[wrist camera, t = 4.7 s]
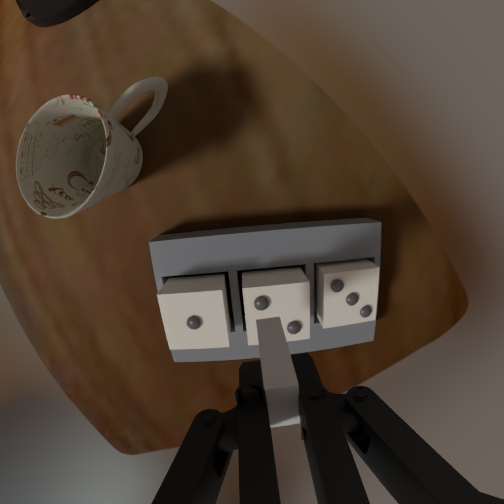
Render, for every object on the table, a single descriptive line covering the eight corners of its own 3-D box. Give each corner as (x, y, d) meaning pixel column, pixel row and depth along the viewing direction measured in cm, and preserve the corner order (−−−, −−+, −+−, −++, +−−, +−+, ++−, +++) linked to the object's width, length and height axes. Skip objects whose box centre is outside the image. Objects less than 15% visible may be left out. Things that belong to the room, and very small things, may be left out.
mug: (66, 166, 24) (1, 167, 14) (148, 70, 22) (107, 25, 12) (116, 221, 25) (59, 244, 16) (206, 122, 24) (186, 90, 14)
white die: (241, 272, 25) (242, 289, 21) (299, 266, 25) (310, 282, 21) (247, 323, 26) (248, 346, 22) (300, 317, 26) (310, 340, 22)
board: (158, 235, 26) (148, 242, 23) (367, 217, 26) (381, 222, 23) (179, 346, 29) (174, 362, 26) (362, 326, 29) (373, 340, 26)
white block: (168, 278, 25) (156, 295, 21) (224, 273, 25) (221, 291, 21) (178, 327, 26) (169, 350, 22) (230, 324, 26) (229, 348, 22)
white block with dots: (312, 260, 26) (324, 274, 22) (362, 255, 26) (380, 268, 22) (313, 309, 27) (323, 329, 23) (360, 303, 27) (376, 321, 23)
